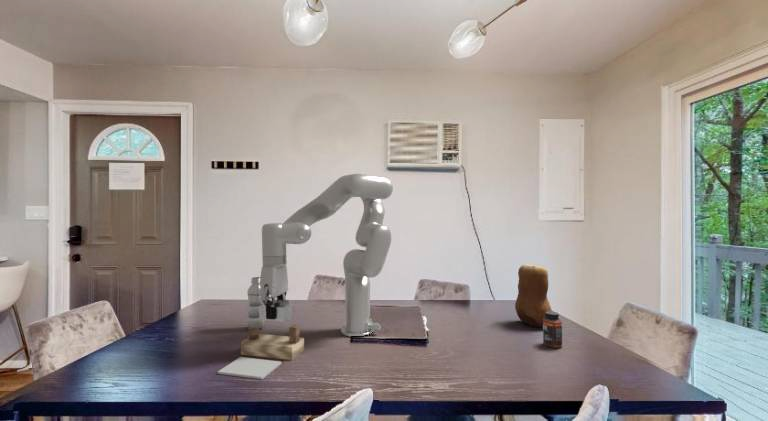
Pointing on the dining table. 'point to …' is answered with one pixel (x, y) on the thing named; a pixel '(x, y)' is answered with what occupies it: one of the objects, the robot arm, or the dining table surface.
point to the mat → (250, 368)
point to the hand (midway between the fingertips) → (275, 315)
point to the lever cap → (277, 311)
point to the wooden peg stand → (273, 344)
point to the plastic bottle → (254, 304)
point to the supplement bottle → (552, 330)
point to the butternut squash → (532, 294)
